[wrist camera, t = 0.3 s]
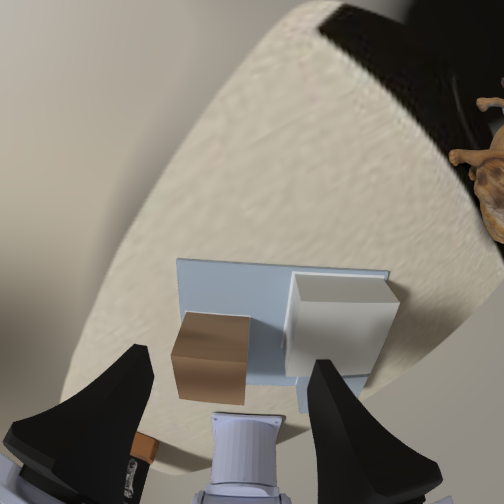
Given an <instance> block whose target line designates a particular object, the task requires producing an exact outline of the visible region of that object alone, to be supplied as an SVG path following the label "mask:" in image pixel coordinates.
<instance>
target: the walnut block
mask: <svg viewBox="0 0 504 504" xmlns="http://www.w3.org/2000/svg"><path fill="white" fill-rule="evenodd" d="M248 336H249V317H245V316H230V315H217V314H205V313H194V312H186V314H185V317H184V319H183V322H182V325H181V328H180V330H179V333H178V336H177V339H176V342H175V344H174V347H173V350H172V353H171V360H172V365H173V370H174V375H175V380H176V385H177V390H178V394H179V398H180V399H186V400H193V401H201V402H210V403H220V404H232V405H244V400H245V386H246V372H247V356H248Z"/></svg>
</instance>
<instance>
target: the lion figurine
mask: <svg viewBox="0 0 504 504" xmlns="http://www.w3.org/2000/svg"><path fill="white" fill-rule="evenodd" d="M501 84H502V86H503V88H504V78H502V81H501ZM477 106H478V108H479V109H480V111H486V110H487V109H488V108H489V107H492V106H497V107H502V108H503V114H504V100H503V99H500V98H478V99H477ZM449 160H450V162H451V163H452V164H453V165H454V166H457V165H458V164H459V163H465V162H467V163H469V164H470V165H472V166H471V168H470V170H469V177H470V179H471V180H474V181H476V182H475V185H474V190H475V195H476V196H477V197H478V198H479V201H480V210H481V212H482V217H483V222H484V223H485V227H486V228H487V230H488V232H489V233H490V235H491V236H492V237H493V239H494V240H495V241H498V242H500V243H503V244H504V125H503V126H502V127H500V129H499V130H498V132H497V133H496V134H495V136H494V138H493V141H492V143H491V147H490V150H480V151H476V150H462V149H456V150H452V151H450V153H449Z"/></svg>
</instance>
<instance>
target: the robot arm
mask: <svg viewBox="0 0 504 504" xmlns="http://www.w3.org/2000/svg"><path fill="white" fill-rule="evenodd" d="M153 381H154V373H153V369H152V365H151V361H150V357H149V353H148V348H147V346H144V345H138V344H134V345H132V346H131V347H130V348H129V349H128V350H127V351H126V352H125V353H124V354H123V355H122V356H121V357H120V358H119V359H118V360H117V361H116V362H115V363H113V364H112V365H111V366H110V367H109V368H108V369H107V370H106V371H105V372H104V373H102V374H101V375H100V376H99V377H98V378H97V379H95V380H94V381H93V382H92V383H90V384H89V385H88V386H87V387H85V388H84V389H83V390H81V391H80V392H78V393H77V394H76V395H74V396H73V397H71V398H69V399H68V400H66V401H64V402H62V403H61V404H59V405H57V406H55V407H53V408H51V409H49V410H47V411H45V412H42V413H40V414H37V415H35V416H33V417H29V418H26V419H23V420H19V421H16V422H13V424H12V425H11V427H10V429H9V430H8V432H7V434H6V436H5V438H4V440H3V444H4V446H5V447H6V448H7V449H8V450H9V451H10V452H11V453H12V454H13V455H15V456H16V457H17V458H18V459H19V460H20V461H21V462H23V463H24V465H23V467H20V466H19V465H18V464H16V463H15V462H14V461H12V460H11V459H9V458H8V457H6V456H5V455H4V454H2V453H0V502H1V503H2V504H124V492H125V483H126V475H127V469H128V463H129V458H130V453H131V449H132V444H133V440H134V437H135V434H136V431H137V428H138V426H139V423H140V420H141V418H142V415H143V413H144V410H145V407H146V405H147V402H148V399H149V397H150V393H151V389H152V385H153ZM307 402H308V412H309V417H310V423H311V428H312V433H313V438H314V443H315V449H316V456H317V472H318V504H423V502H425V500H426V499H425V494H426V493H428V492H429V491H431V490H432V489H434V488H435V487H437V486H438V485H440V484H441V483H442V481H443V478H442V475H441V472H440V469H439V467H438V464H437V463H436V462H434V461H432V460H430V459H428V458H426V457H425V456H422V455H421V454H419V453H417V452H416V451H414V450H413V449H411V448H409V447H408V446H406V445H405V444H404V443H402V442H401V441H400V440H399V439H397V438H396V437H394V436H393V435H392V434H391V433H390V432H388V431H387V430H386V429H385V428H384V427H383V426H382V425H381V424H380V423H379V422H378V421H377V420H376V419H375V418H374V417H373V416H372V415H371V414H370V413H369V412H368V410H367V409H366V408H365V407H364V406H363V405H362V403H361V402H360V401H359V400H358V398H357V397H356V396H355V395H354V393H353V392H352V391H351V389H350V388H349V386H348V385H347V384H346V382H345V381H344V379H343V378H342V376H341V375H340V373H339V372H338V370H337V369H336V367H335V366H334V364H333V363H332V361H331V360H330V359H316V361H315V364H314V367H313V371H312V374H311V377H310V380H309V383H308V387H307ZM281 422H282V417H281V416H259V415H239V414H225V413H212V425H213V434H214V443H215V444H214V453H213V461H212V470H211V478H210V485H208V484H207V485H206V490H205V491H203V490H200V491H199V492H198V493H197V494H195V495H194V497H193V499H192V503H191V504H292V503H291V499H290V498H289V497H288V496H287V495H286V494H284V493H283V494H282V493H281V494H279V487H277V480H276V444H275V443H276V439H277V436H278V433H279V429H280V426H281ZM432 504H453V500H452V498H451V496H447V497H445V498H443V499H441V500H439V501H437V502H434V503H432Z"/></svg>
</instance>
